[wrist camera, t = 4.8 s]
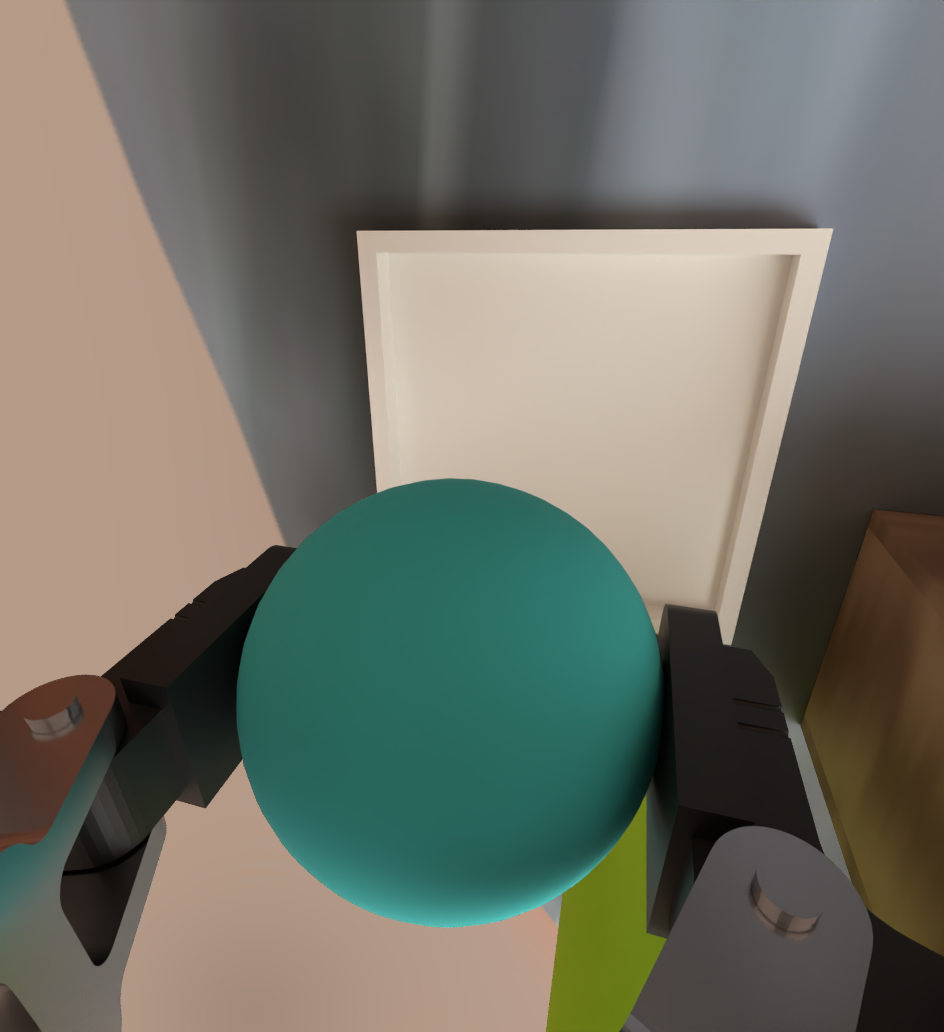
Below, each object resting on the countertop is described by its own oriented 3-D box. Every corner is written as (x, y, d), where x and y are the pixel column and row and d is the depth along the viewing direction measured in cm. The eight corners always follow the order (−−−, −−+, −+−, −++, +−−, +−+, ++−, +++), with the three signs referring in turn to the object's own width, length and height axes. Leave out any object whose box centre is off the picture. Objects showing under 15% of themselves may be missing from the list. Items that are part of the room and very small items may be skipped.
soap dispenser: (667, 791, 25) (726, 2034, 8) (557, 688, 24) (346, 1818, 7) (789, 737, 22) (1315, 2497, 5) (670, 619, 21) (793, 2230, 4)
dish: (372, 231, 18) (356, 230, 17) (820, 229, 15) (833, 228, 14) (396, 576, 24) (385, 592, 23) (726, 625, 21) (731, 645, 20)
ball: (339, 411, 10) (41, 598, 5) (686, 439, 9) (741, 732, 4) (368, 663, 13) (190, 948, 8) (637, 715, 12) (631, 1100, 7)
